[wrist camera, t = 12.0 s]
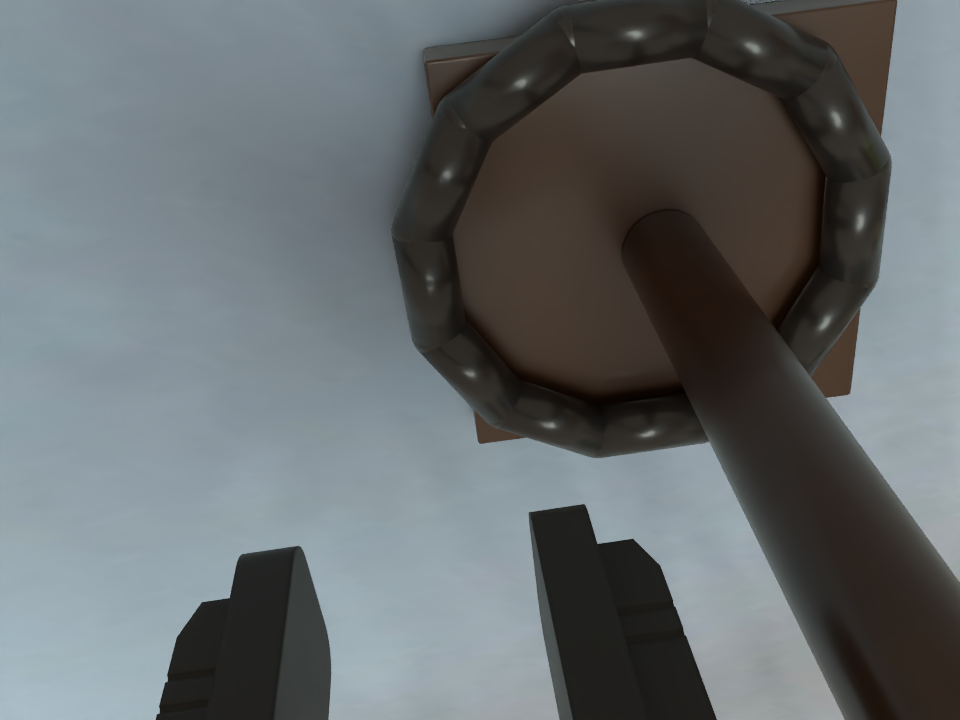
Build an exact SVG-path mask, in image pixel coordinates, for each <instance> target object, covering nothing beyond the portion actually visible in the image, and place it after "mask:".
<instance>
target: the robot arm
mask: <svg viewBox="0 0 960 720" xmlns="http://www.w3.org/2000/svg"><path fill="white" fill-rule="evenodd" d="M529 523H530V532H531V541H532V550H533V558H534V567H535V576H536V585H537V594H538V602H539V609H540V616H541V622H542V629H543V635H544V640H545V646H546V651H547V656H548V661H549V667H550V672H551V677H552V682H553V687H554V693H555V698H556V703H557V708H558V713H559V719H560V720H717V719H716V716H715V713H714V711H713V708H712V705H711V703H710V700H709V697H708V694H707V692H706V689H705V686H704V684H703V681H702V678H701V675H700V673H699V670H698V667H697V664H696V662H695V659H694V656H693V654H692V651H691V648H690V645H689V643H688V640H687V637H686V636H685V635H684V631H683V626H682V624H681V621H680V618H679V616H678V613H677V610H676V607H674V605H673V599H672V597H671V594H670V591H669V588H668V586H667V583H666V580H665V577H664V575H663V572H662V569H661V567H660V565H659V564H658V563H657V562H656V561H655V560H654V559H653V558H652V557H651V556H650V555H649V554H648V553H647V552H646V551H645V550H644V549H643V548H642V547H641V546H640V545H639V544H638V543H637V542H636V541H635V540H634V539H629V540H622V541H615V542H609V543H602V544H597V541H596V538H595V534H594V531H593V528H592V524H591V521H590V517H589V514H588V511H587V508H586V506H585V505H584V504H582V505H576V506H569V507H562V508H555V509H549V510H542V511H535V512H529ZM167 676H168V682H166V683H165V686H164V690H163V694H162V698H161V702H160V705H159V707H160V714H157V717H156V720H328V716H329V701H330V685H331V657H330V647H329V640H328V634H327V630H326V626H325V622H324V619H323V615H322V612H321V609H320V605H319V602H318V598H317V595H316V592H315V588H314V585H313V581H312V578H311V575H310V571H309V568H308V564H307V561H306V558H305V555H304V552H303V550H302V548H301V547H300V546H295V547H288V548H281V549H275V550H268V551H261V552H254V553H247V554H242V555H241V556H240V557H239V559H238V561H237V565H236V570H235V575H234V580H233V585H232V590H231V595H230V598H228V599H222V600H215V601H208V602H202V603H201V605H200V606H199V607H198V609H197V610H196V612H195V613H194V614H193V616H192V617H191V619H190V620H189V621H188V623H187V624H186V626H185V627H184V628H183V630H182V631H181V633H180V634H179V635H178V637H177V639H176V643H175V647H174V651H173V655H172V659H171V663H170V667H169V670H168V674H167Z"/></svg>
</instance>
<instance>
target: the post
mask: <svg viewBox="0 0 960 720" xmlns="http://www.w3.org/2000/svg"><path fill="white" fill-rule="evenodd" d="M750 6H752V7H754V8H757V9H759V10H761V11H763V12H765V13H767V14H769V15H771V16H773V17H776V18H778V19H780V20H782V21H784V22H786V23H788V24H790V25H792V26H794V27H797V28H799V29H801V30H803V31H805V32H807V33H809V34H811V35H813V36H816V37H818V38H820V39H822V40H824V41H826V42H827V43H829V44H830V45H831V46H832V47H833V48H834V49H835V50H836V52H837V54H838V56H839V57H840V59H841V61H842V63H843V65H844V67H845V69H846V71H847V73H848V75H849V77H850V78H851V80H852V82H853V84H854V86H855V88H856V90H857V92H858V94H859V96H860V98H861V99H862V101H863V103H864V105H865V107H866V109H867V111H868V113H869V115H870V117H871V119H872V120H873V122H874V124H875V126H876V128H877V130H878V132H879V134H880V136H881V132H882V123H883V115H884V107H885V98H886V90H887V82H888V73H889V65H890V57H891V48H892V40H893V32H894V23H895V15H896V7H897V0H785V1H777V2H770V3H762V4H755V5H750ZM518 37H520V36H514V37H507V38H499V39H492V40H484V41H477V42H469V43H462V44H454V45H447V46H439V47H432V48H426V49H424V65H425V72H426V79H427V86H428V93H429V100H430V107H431V114H432V119H433V116H434V114H435V111H436V109H437V107H438V104H439V103H440V101H441V100H442V99H443V97H444V96H446V95H447V94H448V93H449V92H450V91H452V90H453V89H454V88H455V87H457V86H458V85H459V84H460V83H462V82H463V81H464V80H465V79H467V78H468V77H469V76H470V75H472V74H473V73H474V72H476V71H477V70H478V69H479V68H481V67H482V66H483V65H484V64H486V63H487V62H488V61H489V60H491V59H492V58H493V57H494V56H496V55H497V54H498V53H499V52H501V51H502V50H503V49H504V48H506V47H507V46H508V45H509V44H511V43H512V42H513V41H515V40H516V39H517V38H518ZM825 179H826V175H825V173H824V172H823V170H822V168H821V166H820V165H819V163H818V161H817V159H816V158H815V156H814V154H813V152H812V151H811V149H810V147H809V145H808V144H807V142H806V140H805V138H804V137H803V135H802V133H801V131H800V130H799V128H798V126H797V124H796V123H795V121H794V119H793V117H792V116H791V114H790V112H789V110H788V109H787V107H786V105H785V103H784V102H783V100H782V98H780V97H778V96H776V95H773V94H771V93H769V92H767V91H765V90H762V89H760V88H758V87H756V86H753V85H751V84H749V83H747V82H745V81H742V80H740V79H738V78H736V77H733V76H731V75H729V74H727V73H724V72H722V71H720V70H718V69H716V68H713V67H711V66H709V65H707V64H704V63H702V62H700V61H698V60H695V59H693V58H686V59H679V60H672V61H665V62H658V63H652V64H645V65H638V66H631V67H624V68H617V69H610V70H603V71H596V72H590V73H583V74H580V75H579V76H578V77H576V78H575V79H574V80H572V81H571V82H570V83H569V84H567V85H566V86H565V87H563V88H562V89H561V90H559V91H558V92H557V93H555V94H554V95H553V96H552V97H550V98H549V99H548V100H546V101H545V102H544V103H542V104H541V105H540V106H538V107H537V108H536V109H535V110H533V111H532V112H531V113H529V114H528V115H527V116H525V117H524V118H523V119H521V120H520V121H519V122H518V123H516V124H515V125H514V126H512V127H511V128H510V129H508V130H507V131H506V132H504V133H503V134H502V135H501V136H499V137H498V138H497V139H495V140H494V141H493V142H492V143H491V146H490V148H489V150H488V153H487V155H486V157H485V160H484V162H483V164H482V167H481V169H480V171H479V174H478V176H477V178H476V181H475V183H474V185H473V188H472V190H471V192H470V195H469V197H468V199H467V201H466V204H465V206H464V208H463V211H462V213H461V215H460V218H459V220H458V222H457V225H456V227H455V229H454V232H453V240H454V247H455V253H456V260H457V266H458V273H459V279H460V286H461V292H462V299H463V306H464V312H465V319H466V320H467V321H468V323H469V324H470V325H471V326H472V327H473V328H474V329H475V330H476V332H477V333H478V334H479V335H480V336H481V337H482V338H483V339H484V340H485V342H486V343H487V344H488V345H489V346H490V347H491V348H492V349H493V351H494V352H495V353H496V354H497V355H498V356H499V357H500V358H501V360H502V361H503V362H504V363H505V364H506V365H507V366H508V367H509V368H510V370H511V371H512V372H513V373H514V374H515V375H516V376H517V377H518V379H519V380H522V381H525V382H528V383H531V384H535V385H538V386H541V387H544V388H547V389H550V390H553V391H556V392H559V393H562V394H565V395H568V396H571V397H574V398H578V399H581V400H584V401H587V402H590V403H593V404H596V405H599V406H600V405H607V404H614V403H621V402H628V401H635V400H642V399H649V398H656V397H663V396H670V395H677V394H684V393H686V394H687V396H688V398H689V400H690V403H691V405H692V407H693V409H694V411H695V413H696V415H697V417H698V419H699V421H700V423H701V425H702V427H703V429H704V431H705V433H706V435H707V437H708V439H709V442H710V444H711V446H712V448H713V450H714V452H715V454H716V456H717V458H718V460H719V462H720V464H721V466H722V468H723V470H724V472H725V474H726V476H727V479H728V481H729V483H730V485H731V487H732V489H733V491H734V493H735V495H736V497H737V499H738V501H739V503H740V505H741V507H742V509H743V511H744V513H745V515H746V518H747V520H748V522H749V524H750V526H751V528H752V530H753V532H754V534H755V536H756V538H757V540H758V542H759V544H760V546H761V548H762V550H763V552H764V555H765V557H766V559H767V561H768V563H769V565H770V567H771V569H772V571H773V573H774V575H775V577H776V579H777V581H778V583H779V585H780V587H781V589H782V591H783V594H784V596H785V598H786V600H787V602H788V604H789V606H790V608H791V610H792V612H793V614H794V616H795V618H796V620H797V622H798V624H799V626H800V628H801V631H802V633H803V635H804V637H805V639H806V641H807V643H808V645H809V647H810V649H811V651H812V653H813V655H814V657H815V659H816V661H817V663H818V665H819V668H820V670H821V672H822V674H823V676H824V678H825V680H826V682H827V684H828V686H829V688H830V690H831V692H832V694H833V696H834V698H835V700H836V702H837V704H838V707H839V709H840V711H841V713H842V715H843V717H844V719H845V720H960V582H959V581H958V579H957V578H956V577H955V575H954V574H953V572H952V571H951V570H950V568H949V567H948V566H947V564H946V563H945V561H944V560H943V559H942V557H941V556H940V555H939V553H938V552H937V550H936V549H935V548H934V546H933V545H932V544H931V542H930V541H929V539H928V538H927V537H926V535H925V534H924V533H923V531H922V530H921V528H920V527H919V526H918V524H917V523H916V522H915V520H914V519H913V517H912V516H911V515H910V513H909V512H908V510H907V509H906V508H905V506H904V505H903V504H902V502H901V501H900V499H899V498H898V497H897V495H896V494H895V493H894V491H893V490H892V488H891V487H890V486H889V484H888V483H887V482H886V480H885V479H884V477H883V476H882V475H881V473H880V472H879V471H878V469H877V468H876V466H875V465H874V464H873V462H872V461H871V460H870V458H869V457H868V455H867V454H866V453H865V451H864V450H863V449H862V447H861V446H860V444H859V443H858V442H857V440H856V439H855V438H854V436H853V435H852V433H851V432H850V431H849V429H848V428H847V426H846V425H845V424H844V422H843V421H842V420H841V418H840V417H839V415H838V414H837V413H836V411H835V410H834V409H833V407H832V406H831V404H830V403H829V402H828V400H827V399H826V398H827V397H835V396H842V395H849V394H850V390H851V382H852V374H853V365H854V357H855V349H856V340H857V332H858V324H859V315H860V309H859V310H858V312H857V313H856V314H855V316H854V317H853V319H852V320H851V322H850V323H849V325H848V326H847V327H846V329H845V330H844V332H843V333H842V335H841V336H840V338H839V339H838V340H837V342H836V343H835V345H834V346H833V348H832V349H831V350H830V352H829V353H828V355H827V356H826V358H825V359H824V361H823V362H822V363H821V365H820V366H819V368H818V369H817V371H816V372H815V373H814V375H813V376H812V378H811V377H810V376H809V374H808V373H807V371H806V370H805V369H804V367H803V366H802V365H801V363H800V362H799V360H798V359H797V358H796V356H795V355H794V353H793V352H792V351H791V349H790V348H789V347H788V345H787V344H786V342H785V341H784V340H783V338H782V337H781V336H780V334H779V333H778V331H777V328H778V327H779V325H780V324H781V322H782V321H783V319H784V318H785V316H786V314H787V313H788V311H789V310H790V308H791V307H792V305H793V304H794V302H795V301H796V299H797V298H798V296H799V295H800V293H801V292H802V290H803V288H804V287H805V285H806V284H807V282H808V281H809V279H810V278H811V276H812V275H813V273H814V272H815V270H816V269H817V267H818V265H819V256H820V243H821V230H822V217H823V204H824V191H825ZM474 416H475V424H476V431H477V438H478V442H479V443H480V444H482V443H489V442H497V441H505V440H512V439H520V438H527V437H523V436H520V435H517V434H514V433H510V432H507V431H504V430H501V429H497V428H495V427H492V426H491V425H489V424H488V423H487V422H485V421H484V419H483V418H482V417H481V416H480V415H479V414H478V413H477V412H476V411H475V410H474Z"/></svg>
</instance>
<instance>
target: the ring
mask: <svg viewBox="0 0 960 720" xmlns="http://www.w3.org/2000/svg"><path fill="white" fill-rule="evenodd" d="M686 58H693V59H695V60H698V61H700V62H702V63H704V64H707V65H709V66H711V67H713V68H716V69H718V70H720V71H722V72H724V73H727V74H729V75H731V76H733V77H736V78H738V79H740V80H742V81H745V82H747V83H749V84H751V85H753V86H756V87H758V88H760V89H762V90H765V91H767V92H769V93H771V94H773V95H776V96H778V97H780V98H782V100H783V102H784V103H785V105H786V107H787V109H788V110H789V112H790V114H791V116H792V117H793V119H794V121H795V123H796V124H797V126H798V128H799V130H800V131H801V133H802V135H803V137H804V138H805V140H806V142H807V144H808V145H809V147H810V149H811V151H812V152H813V154H814V156H815V158H816V159H817V161H818V163H819V165H820V166H821V168H822V170H823V172H824V173H825V175H826V179H825V191H824V204H823V217H822V230H821V243H820V256H819V265H818V267H817V269H816V270H815V272H814V273H813V275H812V276H811V278H810V279H809V281H808V282H807V284H806V285H805V287H804V288H803V290H802V292H801V293H800V295H799V296H798V298H797V299H796V301H795V302H794V304H793V305H792V307H791V308H790V310H789V311H788V313H787V314H786V316H785V318H784V319H783V321H782V322H781V324H780V325H779V327H778V328H777V331H778V333H779V334H780V336H781V337H782V338H783V340H784V341H785V342H786V344H787V345H788V347H789V348H790V349H791V351H792V352H793V353H794V355H795V356H796V358H797V359H798V360H799V362H800V363H801V365H802V366H803V367H804V369H805V370H806V371H807V373H808V374H809V376H810V377H811V378H812V376H813V375H814V373H815V372H816V371H817V369H818V368H819V366H820V365H821V363H822V362H823V361H824V359H825V358H826V356H827V355H828V353H829V352H830V350H831V349H832V348H833V346H834V345H835V343H836V342H837V340H838V339H839V338H840V336H841V335H842V333H843V332H844V330H845V329H846V327H847V326H848V325H849V323H850V322H851V320H852V319H853V317H854V316H855V314H856V313H857V312H858V310H859V309H860V307H861V306H862V304H863V303H864V302H865V300H866V299H867V297H868V296H869V294H870V293H871V291H872V290H873V289H874V287H875V285H876V283H877V281H878V278H879V270H880V262H881V253H882V244H883V236H884V227H885V219H886V210H887V202H888V193H889V184H890V176H891V167H892V161H891V156H890V154H889V151H888V149H887V147H886V145H885V143H884V141H883V140H882V138H881V136H880V134H879V132H878V130H877V128H876V126H875V124H874V122H873V120H872V119H871V117H870V115H869V113H868V111H867V109H866V107H865V105H864V103H863V101H862V99H861V98H860V96H859V94H858V92H857V90H856V88H855V86H854V84H853V82H852V80H851V78H850V77H849V75H848V73H847V71H846V69H845V67H844V65H843V63H842V61H841V59H840V57H839V56H838V54H837V52H836V50H835V49H834V48H833V47H832V46H831V45H830V44H829V43H827V42H826V41H824V40H822V39H820V38H818V37H816V36H813V35H811V34H809V33H807V32H805V31H803V30H801V29H799V28H797V27H794V26H792V25H790V24H788V23H786V22H784V21H782V20H780V19H778V18H776V17H773V16H771V15H769V14H767V13H765V12H763V11H761V10H759V9H757V8H754V7H752V6H750V5H748V4H746V3H744V2H742V1H740V0H599V1H592V2H585V3H578V4H571V5H565V6H561V7H558V8H556V9H554V10H553V11H551V12H550V13H548V14H547V15H546V16H545V17H543V18H542V19H541V20H540V21H538V22H537V23H536V24H535V25H533V26H532V27H531V28H530V29H528V30H527V31H526V32H525V33H523V34H522V35H521V36H520V37H518V38H517V39H516V40H515V41H513V42H512V43H511V44H509V45H508V46H507V47H506V48H504V49H503V50H502V51H501V52H499V53H498V54H497V55H496V56H494V57H493V58H492V59H491V60H489V61H488V62H487V63H486V64H484V65H483V66H482V67H481V68H479V69H478V70H477V71H476V72H474V73H473V74H472V75H470V76H469V77H468V78H467V79H465V80H464V81H463V82H462V83H460V84H459V85H458V86H457V87H455V88H454V89H453V90H452V91H450V92H449V93H448V94H447V95H446V96H444V97H443V99H442V100H441V101H440V103H439V104H438V107H437V109H436V111H435V114H434V116H433V119H432V121H431V124H430V127H429V129H428V132H427V134H426V137H425V139H424V142H423V144H422V147H421V150H420V152H419V155H418V157H417V160H416V162H415V165H414V167H413V170H412V172H411V175H410V178H409V180H408V183H407V185H406V188H405V190H404V193H403V195H402V198H401V200H400V203H399V206H398V208H397V211H396V213H395V216H394V218H393V222H392V228H391V231H392V238H393V243H394V248H395V254H396V259H397V264H398V269H399V275H400V280H401V285H402V290H403V296H404V301H405V306H406V311H407V317H408V322H409V327H410V332H411V338H412V341H413V343H414V345H415V347H416V348H417V350H418V351H419V352H420V353H421V354H422V355H423V356H424V357H425V358H426V359H427V360H428V362H429V363H430V364H431V365H432V366H433V367H434V368H435V369H436V370H437V371H438V372H439V373H440V374H441V375H442V376H443V377H444V378H445V379H446V380H447V382H448V383H449V384H450V385H451V386H452V387H453V388H454V389H455V390H456V391H457V392H458V393H459V394H460V395H461V396H462V397H463V398H464V399H465V401H466V402H467V403H468V404H469V405H470V406H471V407H472V408H473V409H474V410H475V411H476V412H477V413H478V414H479V415H480V416H481V417H482V418H483V419H484V421H485V422H487V423H488V424H489V425H491V426H492V427H495V428H497V429H501V430H504V431H507V432H510V433H514V434H517V435H520V436H523V437H527V438H530V439H533V440H536V441H540V442H543V443H546V444H549V445H553V446H556V447H559V448H562V449H566V450H569V451H572V452H575V453H579V454H582V455H585V456H588V457H592V458H604V457H611V456H618V455H625V454H632V453H639V452H646V451H653V450H660V449H667V448H674V447H681V446H688V445H695V444H702V443H706V442H709V439H708V437H707V435H706V433H705V431H704V429H703V427H702V425H701V423H700V421H699V419H698V417H697V415H696V413H695V411H694V409H693V407H692V405H691V403H690V400H689V398H688V396H687V394H686V393H684V394H677V395H670V396H663V397H656V398H649V399H642V400H635V401H628V402H621V403H614V404H607V405H600V406H599V405H596V404H593V403H590V402H587V401H584V400H581V399H578V398H574V397H571V396H568V395H565V394H562V393H559V392H556V391H553V390H550V389H547V388H544V387H541V386H538V385H535V384H531V383H528V382H525V381H522V380H519V379H518V377H517V376H516V375H515V374H514V373H513V372H512V371H511V370H510V368H509V367H508V366H507V365H506V364H505V363H504V362H503V361H502V360H501V358H500V357H499V356H498V355H497V354H496V353H495V352H494V351H493V349H492V348H491V347H490V346H489V345H488V344H487V343H486V342H485V340H484V339H483V338H482V337H481V336H480V335H479V334H478V333H477V332H476V330H475V329H474V328H473V327H472V326H471V325H470V324H469V323H468V321H467V320H466V319H465V312H464V306H463V299H462V292H461V286H460V279H459V273H458V266H457V260H456V253H455V247H454V240H453V232H454V229H455V227H456V225H457V222H458V220H459V218H460V215H461V213H462V211H463V208H464V206H465V204H466V201H467V199H468V197H469V195H470V192H471V190H472V188H473V185H474V183H475V181H476V178H477V176H478V174H479V171H480V169H481V167H482V164H483V162H484V160H485V157H486V155H487V153H488V150H489V148H490V146H491V143H492V142H493V141H494V140H495V139H497V138H498V137H499V136H501V135H502V134H503V133H504V132H506V131H507V130H508V129H510V128H511V127H512V126H514V125H515V124H516V123H518V122H519V121H520V120H521V119H523V118H524V117H525V116H527V115H528V114H529V113H531V112H532V111H533V110H535V109H536V108H537V107H538V106H540V105H541V104H542V103H544V102H545V101H546V100H548V99H549V98H550V97H552V96H553V95H554V94H555V93H557V92H558V91H559V90H561V89H562V88H563V87H565V86H566V85H567V84H569V83H570V82H571V81H572V80H574V79H575V78H576V77H578V76H579V75H580V74H583V73H590V72H596V71H603V70H610V69H617V68H624V67H631V66H638V65H645V64H652V63H658V62H665V61H672V60H679V59H686Z"/></svg>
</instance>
